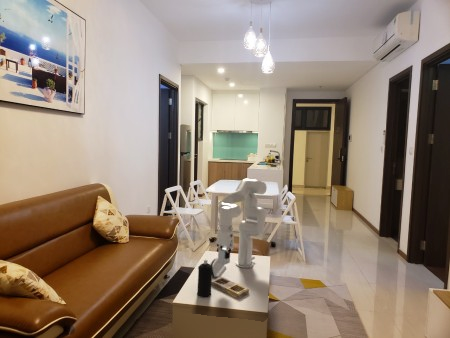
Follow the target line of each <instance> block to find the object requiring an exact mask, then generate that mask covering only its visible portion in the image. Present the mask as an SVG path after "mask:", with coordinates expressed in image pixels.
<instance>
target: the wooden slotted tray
mask: <svg viewBox="0 0 450 338" xmlns="http://www.w3.org/2000/svg"><path fill="white" fill-rule="evenodd" d="M221 283H223V284H221ZM211 287H213V288H216V289H218V290H220V291H222V292H224V293H226V294H228V295H230V296H232V297H234V298H236V299H238V300H240V299H241V298H243V297H245V296H247V295H248V294H250V293H249V292H250V289H249V288H247V287H245V286H242V285H241V284H238V283H236V282H234V281H231V280H229V279H228V278H225V277H223V276H220V277H219V278H217V277H216V278H213V279H212V282H211ZM235 290H238V292H237V291H235Z"/></svg>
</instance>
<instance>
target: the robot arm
mask: <svg viewBox="0 0 450 338" xmlns="http://www.w3.org/2000/svg"><path fill="white" fill-rule="evenodd" d="M266 192H267V184H266V183H265V182H264V181H262V180H259V179H253V178H252V179H251V178H250V179H249V178H244V179H242V180H241V181H240V182H239V184H238V186H237V187H236V189H235V190H234V191H233V192H231V193H229V194H227V195H226V196H224V197H223V198H222V200H221V202H220V203H219V204H218V206H217V207H218V208H217V212H218V214H219V226H218V227H219V228H218V231H217V237H216V240H215V241H214V243H215V244H216V247H217V250H219V249H221V248H226V251H227V252H226V259H228V258H230V259H231V252H232V251H234V250H235V246H234V244H235V241H234V239H235V237H234V231H233V229H234V227H233V218H235V219H236V218H238V217H239V216H241V214H242V208H241V206H240V205H238V204H237V203H241V202H244V207H243V218H245V219H247V220H241V221H240V222H239V224H238V233H239V234H238V235H239V236H238V237H239V238H238V253H237V254H238V255H237V259H238V260H236V261H235V266H237V267H239V268H243V269H248V268H249V269H250V268H252V267H254V263H253V260H255V259H256V258H255V256H253V237H257V238H261V237H262V236H263V235H264V230H265V223H266V218H267V217H266V216H267V211H266V209H265V208H264V207H261V206H258V197H257V195H256V194H258V195H264V194H265V193H266ZM255 221H256V222H255ZM228 249H229V250H228Z"/></svg>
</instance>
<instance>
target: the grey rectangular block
mask: <svg viewBox="0 0 450 338" xmlns="http://www.w3.org/2000/svg"><path fill="white" fill-rule="evenodd" d="M217 250H218V255H217V258H218V263H221V264H223V265H224V266H226V265H228V264H230V262H231V260H230V259H231V257H230V258H228V259H226V252H227V251H226V247H223V248H221V249H217ZM228 250H229V248H228Z"/></svg>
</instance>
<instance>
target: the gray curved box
mask: <svg viewBox="0 0 450 338" xmlns="http://www.w3.org/2000/svg"><path fill="white" fill-rule="evenodd" d="M209 264H210V265H211V266H212V267H213V269H212V278H216V279H217V278H219V277H222V275H223V274H224V273H225V272H226V270H227V267H226V265H223V264H221V263H218V257H216V258H213V259H212V260H211V261H210V263H209Z"/></svg>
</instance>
